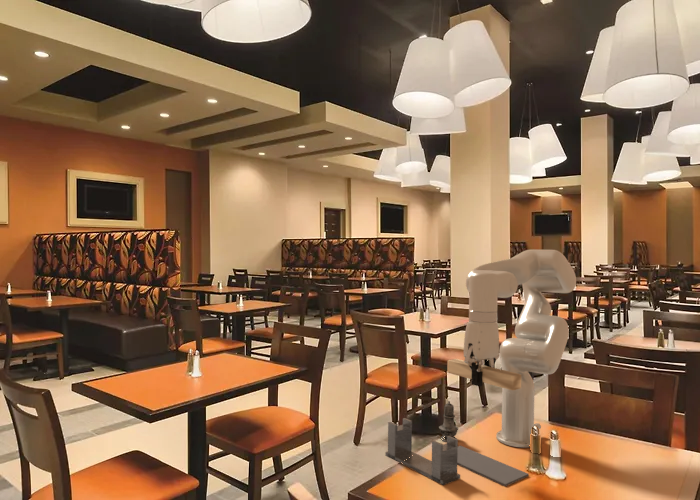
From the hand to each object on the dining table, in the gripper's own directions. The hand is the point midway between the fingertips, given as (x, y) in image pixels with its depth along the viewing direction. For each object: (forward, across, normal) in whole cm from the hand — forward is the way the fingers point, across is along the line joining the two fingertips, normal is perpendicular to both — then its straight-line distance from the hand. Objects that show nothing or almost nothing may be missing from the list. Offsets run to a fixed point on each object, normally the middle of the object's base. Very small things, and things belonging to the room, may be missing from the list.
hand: (481, 383), depth 138 cm
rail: (-1, 0, 0) cm, 1 cm away
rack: (+22, +14, -9) cm, 28 cm away
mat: (+22, 0, 0) cm, 22 cm away
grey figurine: (+23, -7, -18) cm, 30 cm away
